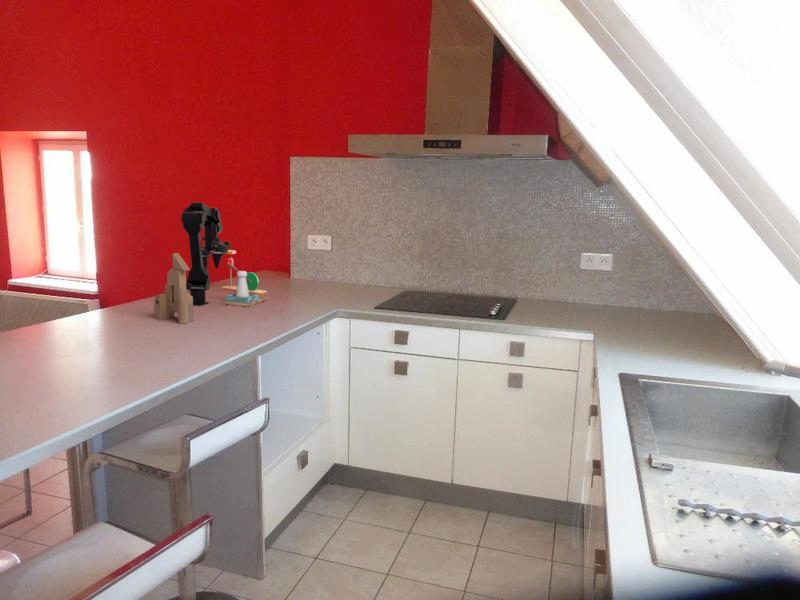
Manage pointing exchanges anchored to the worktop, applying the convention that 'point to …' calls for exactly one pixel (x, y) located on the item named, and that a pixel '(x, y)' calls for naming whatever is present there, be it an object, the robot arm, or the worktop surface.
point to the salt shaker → (242, 285)
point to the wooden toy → (175, 294)
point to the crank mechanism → (250, 278)
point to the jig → (244, 299)
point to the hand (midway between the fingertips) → (211, 269)
